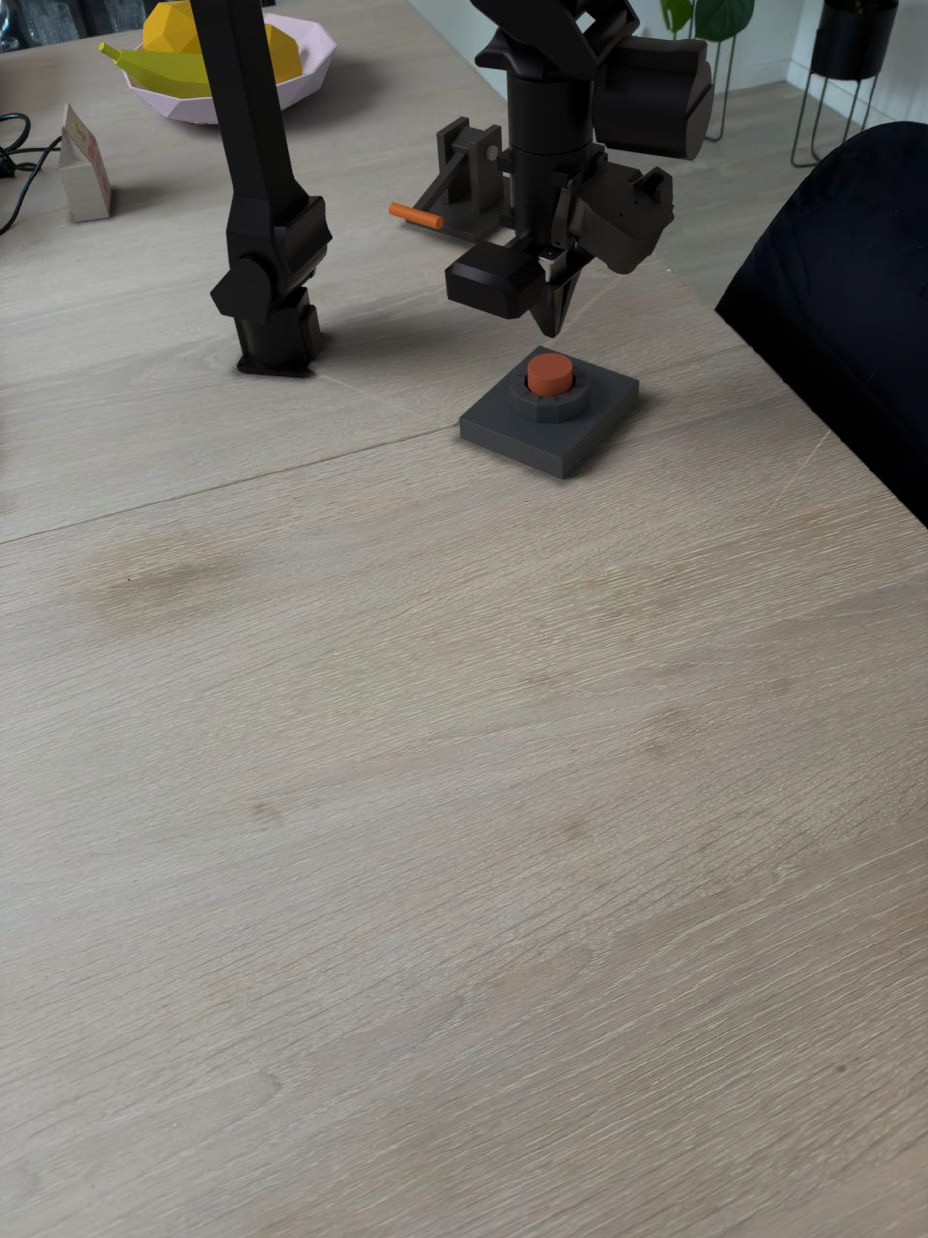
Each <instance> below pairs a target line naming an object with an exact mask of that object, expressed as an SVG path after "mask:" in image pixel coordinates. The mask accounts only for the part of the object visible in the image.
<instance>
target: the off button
mask: <svg viewBox="0 0 928 1238" xmlns="http://www.w3.org/2000/svg"><path fill="white" fill-rule="evenodd" d="M572 371H573V365H572V362H571V361H570V359H568V358H567V357H565V356H563V355H560V354H555V353H546V354H541V355H538V356H536V357H534V358H533V359H531V360H530V362H529V364H528V387H529V389H530V390H531V391H532V392H533V393H535V394H537V395H540V396H558V395H561V394H564V393H566V392H568V391H569V390H570V388H571V387H572Z"/></svg>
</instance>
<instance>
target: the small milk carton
mask: <svg viewBox="0 0 928 1238" xmlns="http://www.w3.org/2000/svg"><path fill="white" fill-rule="evenodd" d="M62 115H63V116H62V122H61V127H60V128H61V129H60V131H61V142H60V151H59V157H58V164H57V172H58V175H59V179H60V182H61V184H62V187H63V189H64V190H63V191H64V193H65V196H66V199H67V202H68V204H69V208H70V210H71V213H72V216H73V219H74V222H75V223H81V222H86V221H94V220H100V219H101V220H102V219H106V218H110V214H111V203H112V202H111V201H112V190H113V189H112V186H111V183H110V180H109V177H108V174H107V169H106V167H105V164H104V160H103V157H102V155H101V151H100V148H99V144H98V141H97V137H96V136H95V135H94V134H93V132H92V131H91V130H90V129H89V128H88V127H87V125H86V124H85V123H84V122H83V121H82V119H81V118H80V117H79V115H77V113H76V112H75V110H74V109H73V107H72V105H71V103H70V102H69V101H68V102H67V103H66V102H64V109H63V114H62Z"/></svg>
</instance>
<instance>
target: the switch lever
mask: <svg viewBox="0 0 928 1238" xmlns="http://www.w3.org/2000/svg"><path fill="white" fill-rule="evenodd" d="M483 131H484V130H483V129H480V128H475V127H472V126H470V127H468V126H465V128H464V129H463V130H462V131H461V133H460V134H459V135H458V136H457V138H456V139H455V140H454V141H453V143H452V144H451V146H452V149H453V152H454V156H453V157H452V158H451V160H450V161H449V162H448V163H447V165H446V166H445V167H444V168H443V170H442V171H441V172H440V174H437V176H436V177H435V179H434V180H433V181H432V183H431V184H430V185H429V186H428V187H427V188H426V190H425V191H424V193H423V194H421V196H420V197H419V199H418V200H417V201H416V202H415V204H414V205H413V206H412V207H410V206H407V205H404V204H401V203H398V202H395V201H393V202H391V203H390V204H389V206H388V213H389V215H391V216H394V217H397V218H400V219H403V220H405V219H407V220H410V221H413V222H416V223H420V224H423V225H426V226H429V227H432V228H436V229H440V228H441V227H442V225H443V218H442V217H441V216H437V215H434V214H431V213H428V211H429V210H430V209H431V208H432V206H433V205H434V204H435V202H436V201H437V200H438V199H439V197H440V196H441V195H442V194H443V192H444V191H445V190H446V188H447V187H448V186H449V185H450V183H451V182H452V181H453V180H454V178H455V177H456V176H457V174H458V173H459V172H460V171H461V169H462V168H463V167H464V166H468V167H470V159H469V141H470V140H471V139H473V138H474V137H476V136H477V135H478V134H480V133H481V132H483Z"/></svg>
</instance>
